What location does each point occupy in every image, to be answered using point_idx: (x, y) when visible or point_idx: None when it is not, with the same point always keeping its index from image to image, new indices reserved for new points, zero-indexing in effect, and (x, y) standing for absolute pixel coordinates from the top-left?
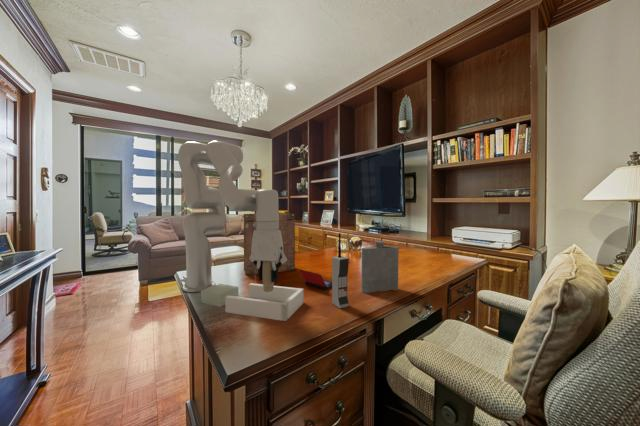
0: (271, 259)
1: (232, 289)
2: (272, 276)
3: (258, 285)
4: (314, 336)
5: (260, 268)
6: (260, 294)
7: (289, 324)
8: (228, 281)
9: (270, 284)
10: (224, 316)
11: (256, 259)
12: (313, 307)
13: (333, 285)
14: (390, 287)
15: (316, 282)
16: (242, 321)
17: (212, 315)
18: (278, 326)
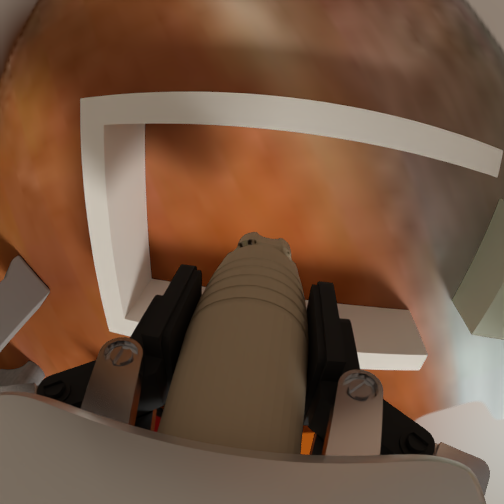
0: (47, 426)
1: (492, 299)
2: (170, 291)
3: (372, 353)
4: (19, 44)
5: (331, 384)
6: (353, 319)
7: (103, 75)
8: (492, 406)
9: (222, 263)
10: (444, 89)
11: (389, 469)
12: (84, 252)
13: (4, 325)
14: (3, 374)
15: (156, 421)
16: (332, 41)
17: (493, 101)
18: (138, 42)
